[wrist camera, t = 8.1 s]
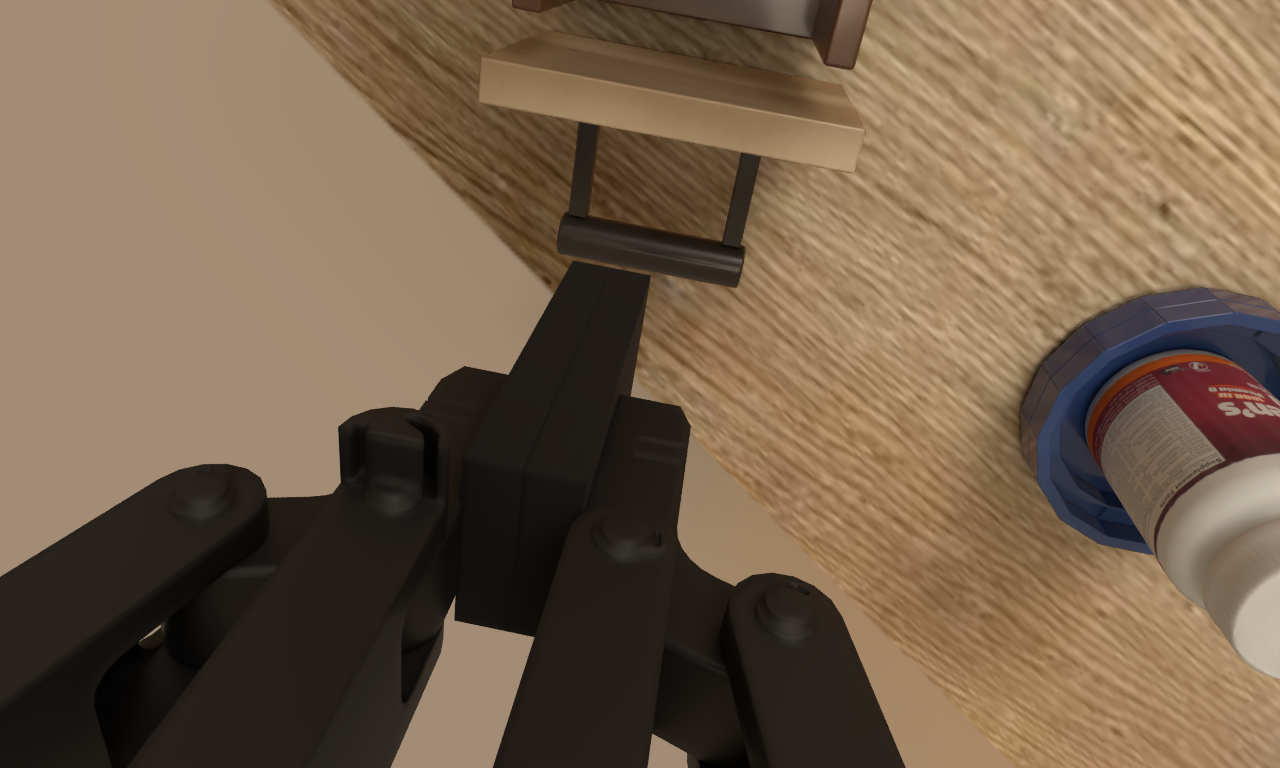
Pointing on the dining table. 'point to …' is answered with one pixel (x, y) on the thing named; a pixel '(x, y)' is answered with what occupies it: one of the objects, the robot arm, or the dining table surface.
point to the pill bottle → (1201, 485)
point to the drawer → (685, 116)
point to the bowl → (1094, 354)
